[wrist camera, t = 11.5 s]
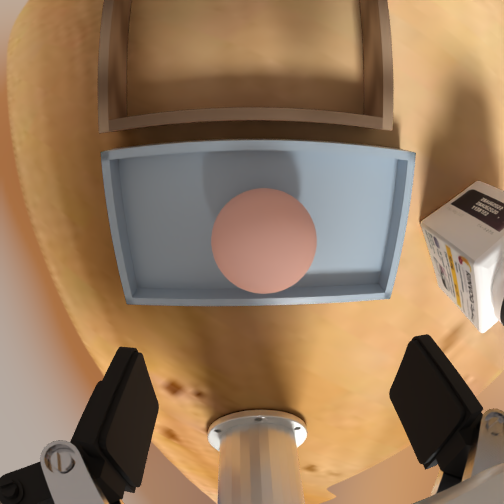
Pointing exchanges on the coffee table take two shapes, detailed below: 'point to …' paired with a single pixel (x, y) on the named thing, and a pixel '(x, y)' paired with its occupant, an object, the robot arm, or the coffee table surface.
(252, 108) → the wooden box frame
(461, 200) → the container
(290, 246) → the ball
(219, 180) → the tray
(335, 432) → the coffee table surface
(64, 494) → the robot arm
